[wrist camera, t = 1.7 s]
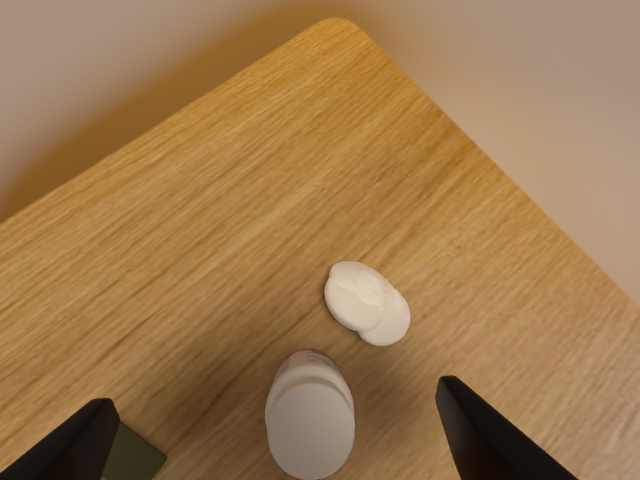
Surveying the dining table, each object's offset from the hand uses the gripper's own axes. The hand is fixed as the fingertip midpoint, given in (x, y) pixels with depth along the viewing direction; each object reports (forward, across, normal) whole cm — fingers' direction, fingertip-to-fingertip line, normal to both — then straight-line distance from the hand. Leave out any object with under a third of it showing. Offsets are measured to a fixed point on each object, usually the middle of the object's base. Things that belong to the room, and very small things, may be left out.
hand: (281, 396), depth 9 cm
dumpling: (+13, -5, +7) cm, 16 cm away
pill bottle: (+10, -1, +11) cm, 15 cm away
